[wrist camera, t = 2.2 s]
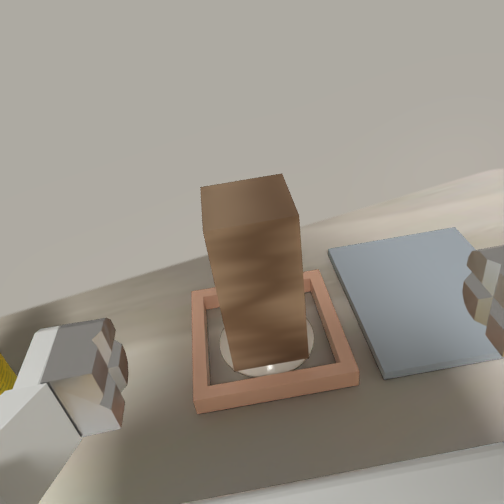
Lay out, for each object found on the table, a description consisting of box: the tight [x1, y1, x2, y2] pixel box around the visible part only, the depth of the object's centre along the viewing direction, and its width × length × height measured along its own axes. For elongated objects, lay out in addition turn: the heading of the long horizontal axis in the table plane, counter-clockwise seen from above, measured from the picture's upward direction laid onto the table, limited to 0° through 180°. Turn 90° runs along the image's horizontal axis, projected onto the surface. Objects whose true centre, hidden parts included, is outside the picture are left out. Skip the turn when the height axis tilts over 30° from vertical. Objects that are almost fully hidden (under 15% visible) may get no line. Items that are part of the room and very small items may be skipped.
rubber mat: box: [328, 227, 504, 380], centre depth 30 cm, size 10×12×1 cm
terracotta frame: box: [191, 269, 359, 414], centre depth 28 cm, size 9×9×1 cm
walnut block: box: [201, 174, 309, 372], centre depth 25 cm, size 4×4×10 cm
